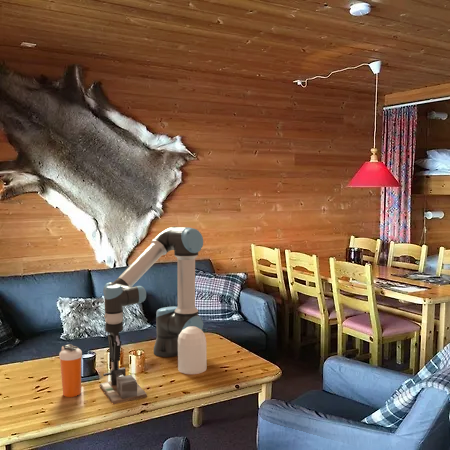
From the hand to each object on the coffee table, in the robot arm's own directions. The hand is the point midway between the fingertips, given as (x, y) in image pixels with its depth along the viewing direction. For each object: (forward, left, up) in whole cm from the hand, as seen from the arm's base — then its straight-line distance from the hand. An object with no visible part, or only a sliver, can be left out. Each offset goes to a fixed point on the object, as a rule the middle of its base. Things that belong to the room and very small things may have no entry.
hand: (115, 375), depth 219 cm
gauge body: (+10, 0, -4) cm, 11 cm away
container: (+1, +36, -4) cm, 36 cm away
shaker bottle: (+2, -19, -4) cm, 19 cm away
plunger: (+8, -1, -2) cm, 8 cm away
